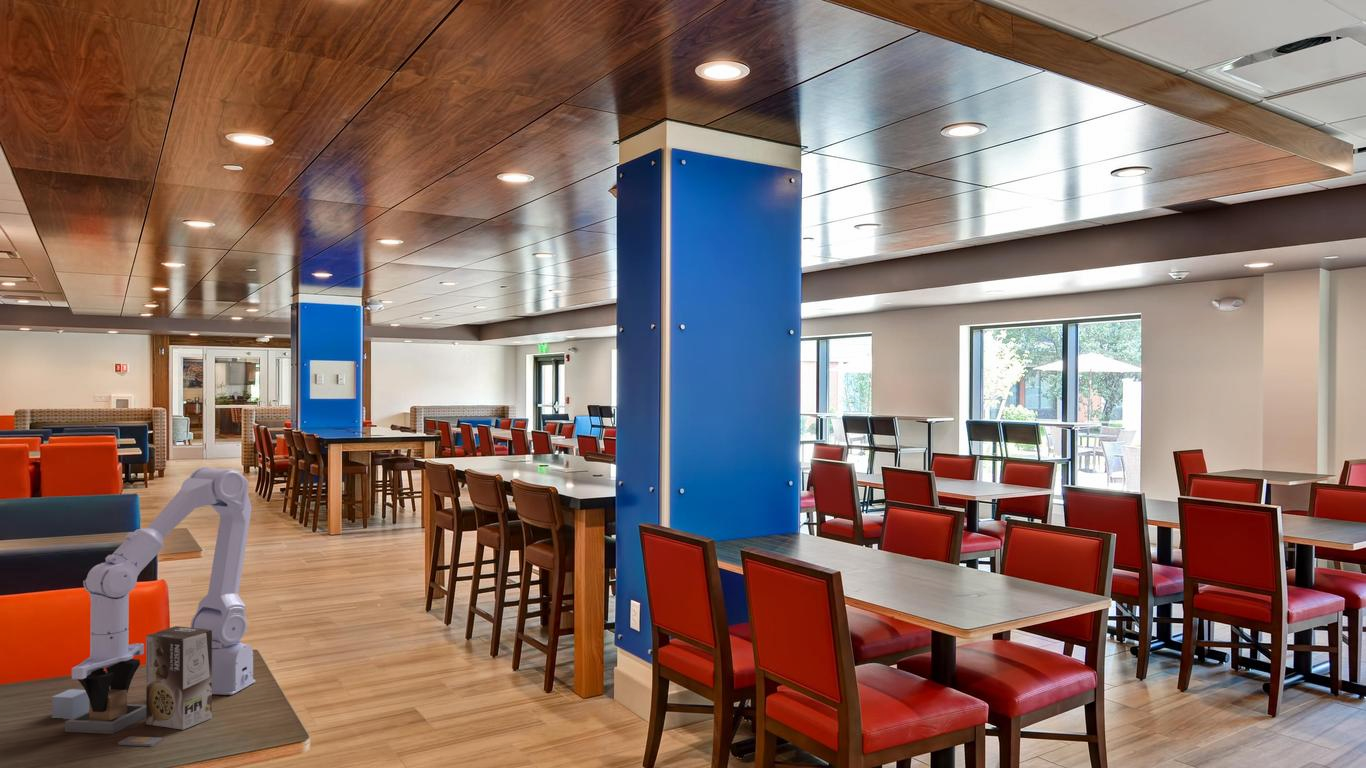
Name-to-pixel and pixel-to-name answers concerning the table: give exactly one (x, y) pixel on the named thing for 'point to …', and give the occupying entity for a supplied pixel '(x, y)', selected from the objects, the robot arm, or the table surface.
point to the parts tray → (106, 721)
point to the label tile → (140, 741)
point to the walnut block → (111, 706)
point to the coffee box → (179, 677)
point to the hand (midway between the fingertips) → (109, 706)
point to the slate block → (70, 704)
